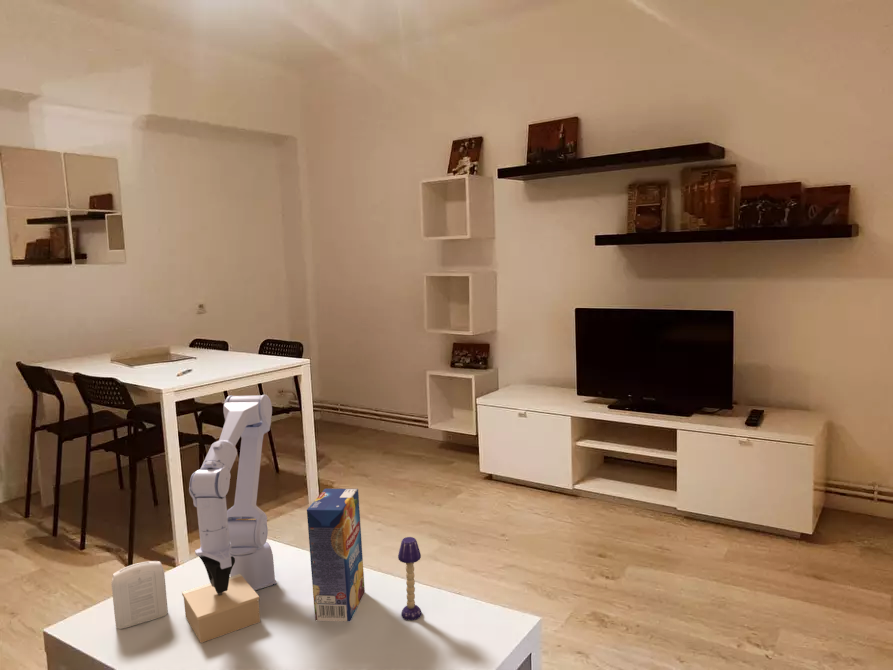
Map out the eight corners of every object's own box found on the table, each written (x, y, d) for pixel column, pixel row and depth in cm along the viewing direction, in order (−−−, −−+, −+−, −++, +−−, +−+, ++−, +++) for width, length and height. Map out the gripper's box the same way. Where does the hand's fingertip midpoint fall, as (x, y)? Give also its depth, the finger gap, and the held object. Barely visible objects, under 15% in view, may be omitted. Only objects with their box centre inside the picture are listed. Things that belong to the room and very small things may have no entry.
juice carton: (350, 622, 138) (342, 510, 135) (315, 620, 139) (306, 510, 136) (364, 592, 150) (358, 488, 147) (332, 591, 151) (325, 488, 148)
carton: (241, 598, 150) (239, 577, 149) (260, 621, 140) (258, 599, 139) (185, 616, 143) (183, 595, 142) (200, 643, 133) (198, 619, 132)
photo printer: (166, 607, 147) (160, 553, 146) (170, 615, 144) (164, 560, 142) (114, 623, 142) (107, 567, 140) (117, 632, 138) (110, 575, 137)
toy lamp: (427, 611, 141) (423, 535, 139) (418, 623, 136) (414, 545, 134) (406, 608, 143) (402, 533, 140) (396, 619, 138) (392, 542, 136)
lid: (240, 576, 149) (238, 554, 149) (259, 599, 139) (257, 576, 138) (182, 594, 142) (179, 572, 142) (197, 620, 132) (195, 595, 131)
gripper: (184, 520, 142) (190, 580, 144) (203, 543, 130) (209, 609, 132) (218, 511, 146) (223, 570, 148) (239, 533, 134) (245, 597, 136)
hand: (219, 588), depth 140 cm, fingers closed on lid, 3 cm apart
